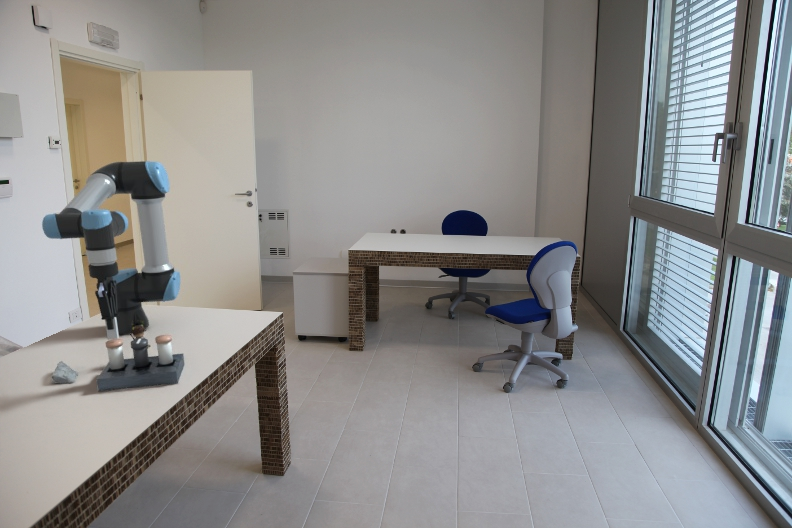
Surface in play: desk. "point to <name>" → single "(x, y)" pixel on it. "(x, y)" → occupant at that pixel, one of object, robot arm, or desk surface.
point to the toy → (138, 332)
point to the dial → (140, 352)
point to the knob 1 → (115, 353)
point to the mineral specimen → (64, 374)
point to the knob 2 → (164, 349)
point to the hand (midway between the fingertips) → (113, 338)
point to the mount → (141, 374)
